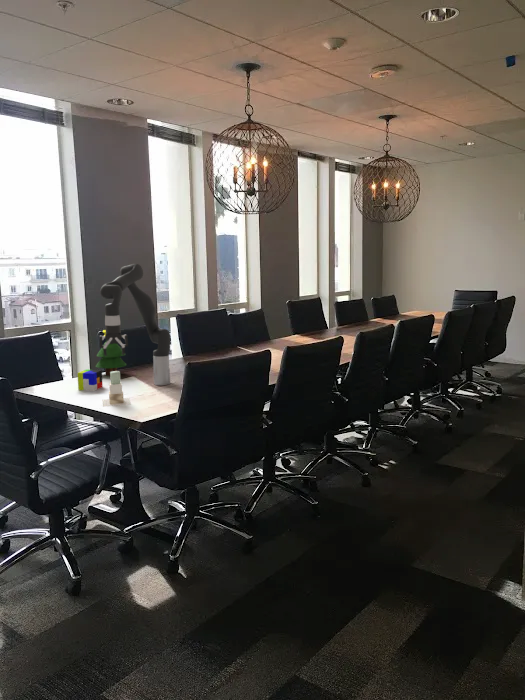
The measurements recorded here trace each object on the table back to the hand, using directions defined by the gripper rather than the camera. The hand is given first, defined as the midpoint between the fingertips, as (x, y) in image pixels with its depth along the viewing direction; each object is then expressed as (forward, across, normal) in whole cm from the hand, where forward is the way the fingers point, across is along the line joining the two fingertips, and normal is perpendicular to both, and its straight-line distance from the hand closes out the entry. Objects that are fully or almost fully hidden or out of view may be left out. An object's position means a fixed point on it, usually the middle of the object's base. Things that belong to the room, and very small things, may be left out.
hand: (114, 355), depth 306 cm
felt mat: (+25, 0, 0) cm, 25 cm away
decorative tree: (+26, 0, -73) cm, 77 cm away
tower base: (+25, 0, 0) cm, 25 cm away
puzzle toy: (+26, +13, -38) cm, 48 cm away
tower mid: (+20, 0, 0) cm, 20 cm away
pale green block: (+15, 0, 0) cm, 15 cm away
